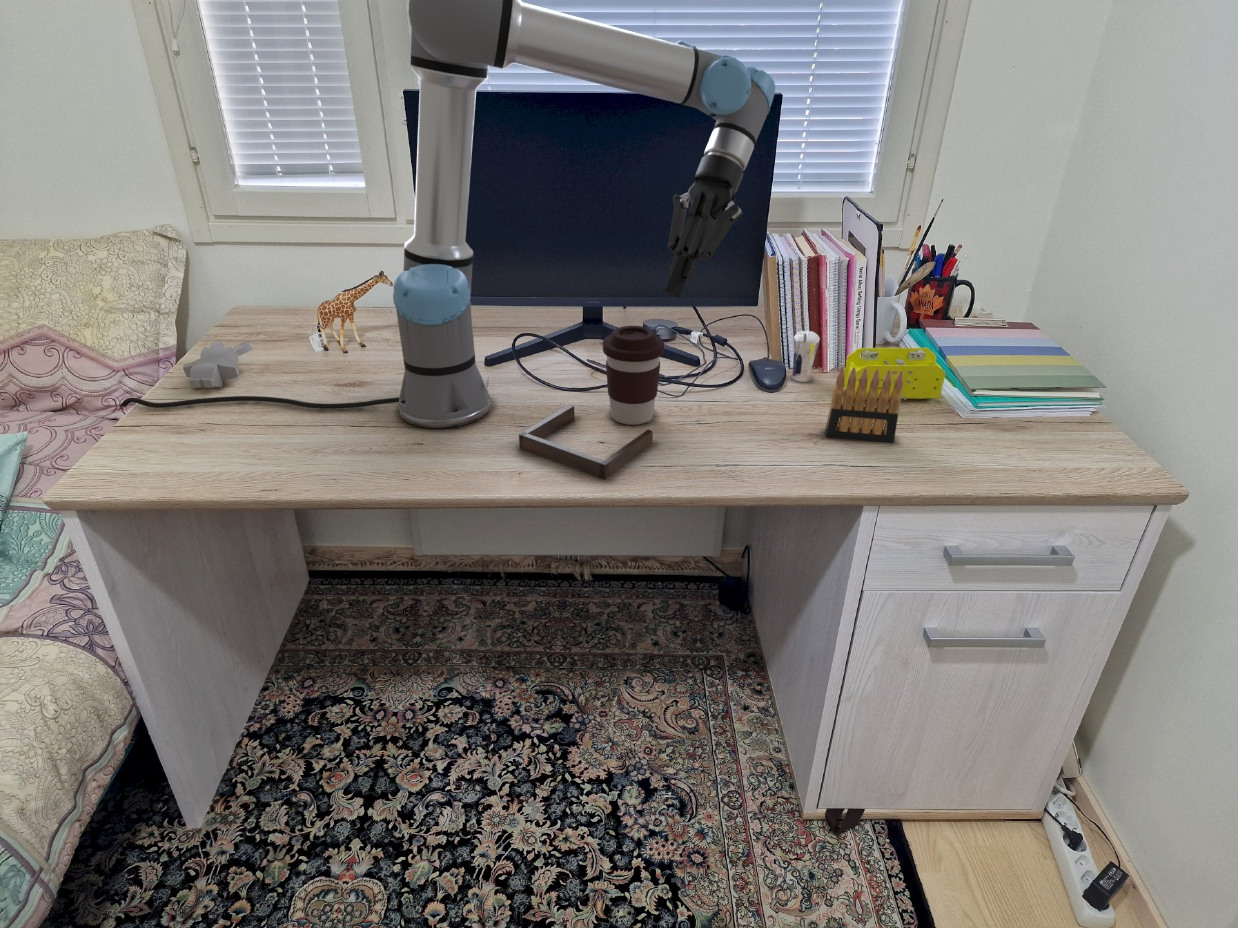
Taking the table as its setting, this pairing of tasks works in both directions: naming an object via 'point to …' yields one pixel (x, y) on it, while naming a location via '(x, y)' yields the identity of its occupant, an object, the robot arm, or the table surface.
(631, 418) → the coffee cup
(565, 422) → the bay
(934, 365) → the yellow toy chassis
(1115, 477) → the table surface
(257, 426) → the table surface
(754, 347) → the table surface
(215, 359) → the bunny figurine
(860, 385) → the ammunition clip
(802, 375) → the milkshake
